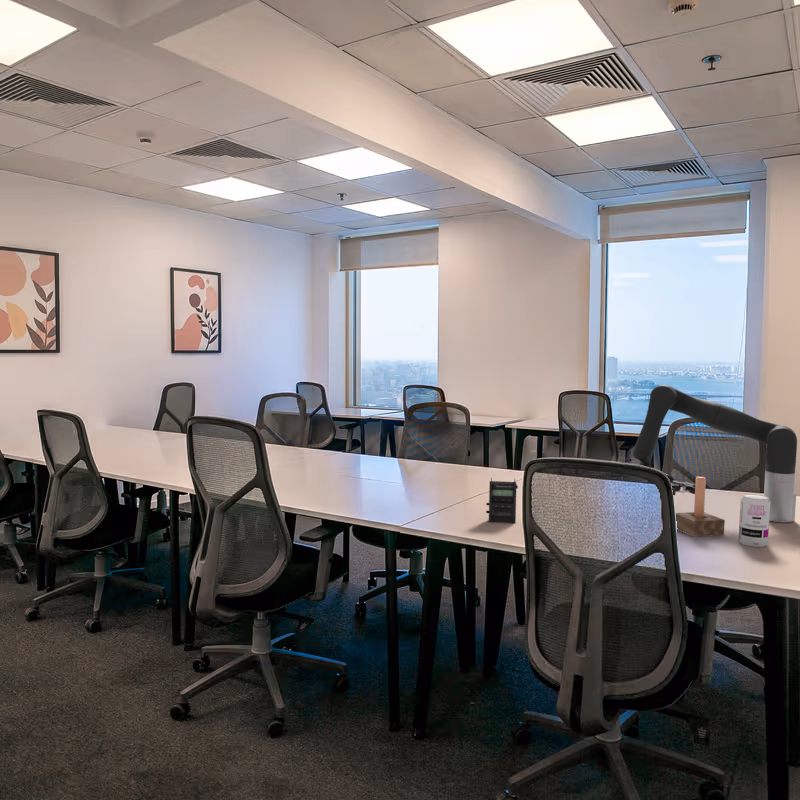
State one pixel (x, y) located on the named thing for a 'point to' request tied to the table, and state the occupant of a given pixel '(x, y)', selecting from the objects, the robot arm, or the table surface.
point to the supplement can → (754, 520)
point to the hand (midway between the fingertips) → (685, 492)
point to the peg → (699, 497)
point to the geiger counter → (502, 501)
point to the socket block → (700, 524)
